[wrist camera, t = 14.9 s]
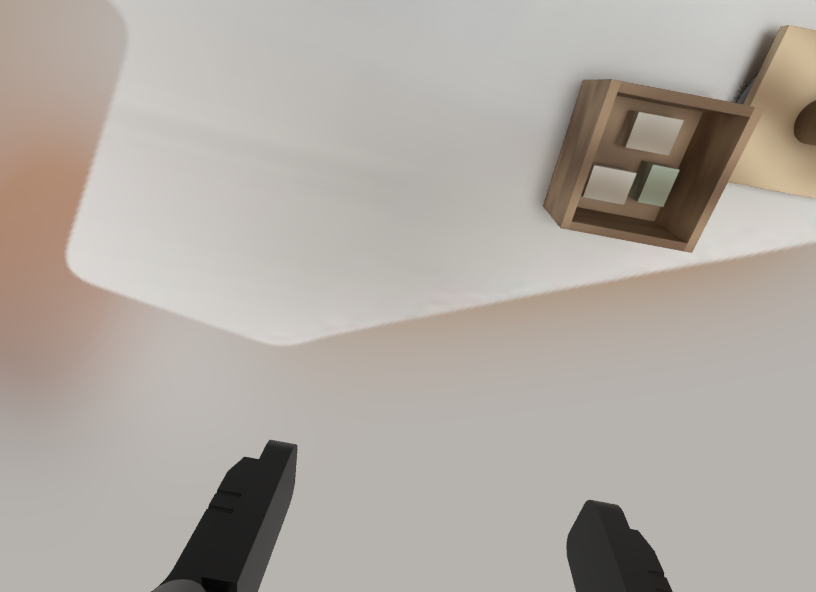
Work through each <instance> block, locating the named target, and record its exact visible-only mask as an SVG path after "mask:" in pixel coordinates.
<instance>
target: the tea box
mask: <svg viewBox="0 0 816 592" xmlns="http://www.w3.org/2000/svg"><path fill="white" fill-rule="evenodd" d="M764 110H765V109H764V108H758V107H753V106H748V105H743V104H738V103H732V102H727V101H722V100H717V99H711V98H706V97H701V96H696V95H691V94H685V93H680V92H675V91H670V90H664V89H659V88H654V87H649V86H644V85H638V84H633V83H628V82H623V81H617V80H612V79H609V80H583V83H582V86H581V90H580V93H579V96H578V99H577V102H576V105H575V108H574V112H573V115H572V118H571V121H570V124H569V127H568V130H567V133H566V137H565V140H564V143H563V146H562V149H561V152H560V155H559V159H558V162H557V165H556V168H555V171H554V174H553V177H552V180H551V184H550V187H549V190H548V193H547V196H546V199H545V202H544V206H543V207H544V208H545V209H546V210H547V212H548V213H549V214H550V215H551V217H552V218H553V219H554V220H555V222H556V223H557V224H558V225H559V227H560V228H563V229H569V230H574V231H579V232H585V233H590V234H595V235H600V236H606V237H611V238H616V239H622V240H627V241H632V242H637V243H643V244H648V245H653V246H659V247H664V248H669V249H674V250H680V251H685V252H690V253H692V252H693V250H694V248H695V246H696V244H697V242H698V240H699V238H700V236H701V234H702V232H703V230H704V228H705V226H706V224H707V222H708V220H709V218H710V216H711V214H712V212H713V210H714V208H715V206H716V204H717V202H718V200H719V198H720V196H721V194H722V192H723V190H724V189H725V187H726V185H727V183H728V181H729V179H730V177H731V175H732V173H733V171H734V169H735V167H736V165H737V163H738V161H739V159H740V157H741V155H742V153H743V151H744V149H745V147H746V145H747V143H748V141H749V139H750V137H751V135H752V133H753V131H754V129H755V127H756V125H757V123H758V121H759V119H760V117H761V115H762V113H763V111H764Z"/></svg>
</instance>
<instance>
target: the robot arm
mask: <svg viewBox="0 0 816 592" xmlns="http://www.w3.org/2000/svg"><path fill="white" fill-rule="evenodd" d="M296 460H297V445H296V444H290V443H286V442H280V441H275V440H269V441H268V443H267V444H266V446H265V448H264V450H263V452H262V454H261V456H260V459H254V458H249V457H244V458H243V459H241V460H240V461H239V462H238V463H237V464H236V465H234V466H233V467H232V468H231V469H230V470H229V471H228V472H227V474H226V475H225V477H224V479H223V481H222V482H221V484H220V486H219V488H218V490H217V493H216V494H215V495H214V497H213V499H212V500H211V502H210V504H209V507H208V509H206V511H205V513H204V515H203V516H202V518H201V520H200V522H199V524H198V526H197V527H196V529H195V531H194V533H193V534H192V536H191V538H190V540H189V541H188V543H187V545H186V547H185V549H184V550H183V552H182V554H181V556H180V558H179V560H178V561H177V563H176V565H175V566H174V568H173V570H172V571H171V573H170V574H169V575H168V577H167V578H166V579H165V580H164V581H163V582H162V583H161V584H160V585H159V586H158V587H157V588H155V589H154V590H153V591H151V592H258V589H259V587H260V584H261V581H262V578H263V576H264V573H265V570H266V568H267V565H268V562H269V559H270V557H271V554H272V551H273V549H274V545H275V543H276V540H277V538H278V535H279V532H280V530H281V527H282V524H283V521H284V519H285V516H286V513H287V510H288V508H289V505H290V502H291V498H292V495H293V490H294V484H295V473H296ZM567 558H568V562H569V566H570V570H571V573H572V578H573V581H574V585H575V589H576V592H672V589H671V587H670V585H669V583H668V580H667V578H665V577H664V572H663V569H662V567H661V565H660V562H659V560H658V558H657V556H656V554H655V551H654V550H653V549H652V547H651V546H650V545H649V544H648V542H647V541H646V540H645V539H644V537H643V536H642V535H641V533H640V532H639V531H638V530H633V529H630V527H629V525H628V523H627V520H626V518H625V515H624V513H623V511H622V509H621V508H620V507H619V506H618V505H615V504H610V503H605V502H599V501H594V500H588V501H586V503H585V504H584V506H583V508H582V510H581V512H580V513H579V515H578V517H577V519H576V521H575V523H574V525H573V526H572V528H571V530H570V532H569V534H568V538H567Z"/></svg>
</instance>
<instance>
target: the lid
mask: <svg viewBox="0 0 816 592" xmlns="http://www.w3.org/2000/svg"><path fill="white" fill-rule="evenodd" d="M743 105H748V106H753V107H758V108H764V109H765V110H764V111H763V113H762V115H761V117H760V119H759V121H758V123H757V125H756V127H755V129H754V131H753V133H752V135H751V137H750V139H749V141H748V143H747V145H746V147H745V149H744V151H743V153H742V155H741V157H740V159H739V161H738V163H737V165H736V167H735V169H734V171H733V173H732V175H731V177H730V179H729V181H728V182H732V183H737V184H743V185H748V186H753V187H758V188H764V189H769V190H774V191H779V192H784V193H790V194H795V195H800V196H805V197H811V198H816V30H811V29H806V28H801V27H795V26H790V25H789V26H783V27H780V29H779V31H778V33H777V35H776V37H775V40H774V42H773V44H772V46H771V48H770V50H769V52H768V54H767V56H766V58H765V60H764V62H763V64H762V66H761V68H760V71H759V73H758V75H757V77H756V79H755V81H754V83H753V85H752V87H751V89H750V91H749V93H748V95H747V97H746V99H745V102H744V104H743Z"/></svg>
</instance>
